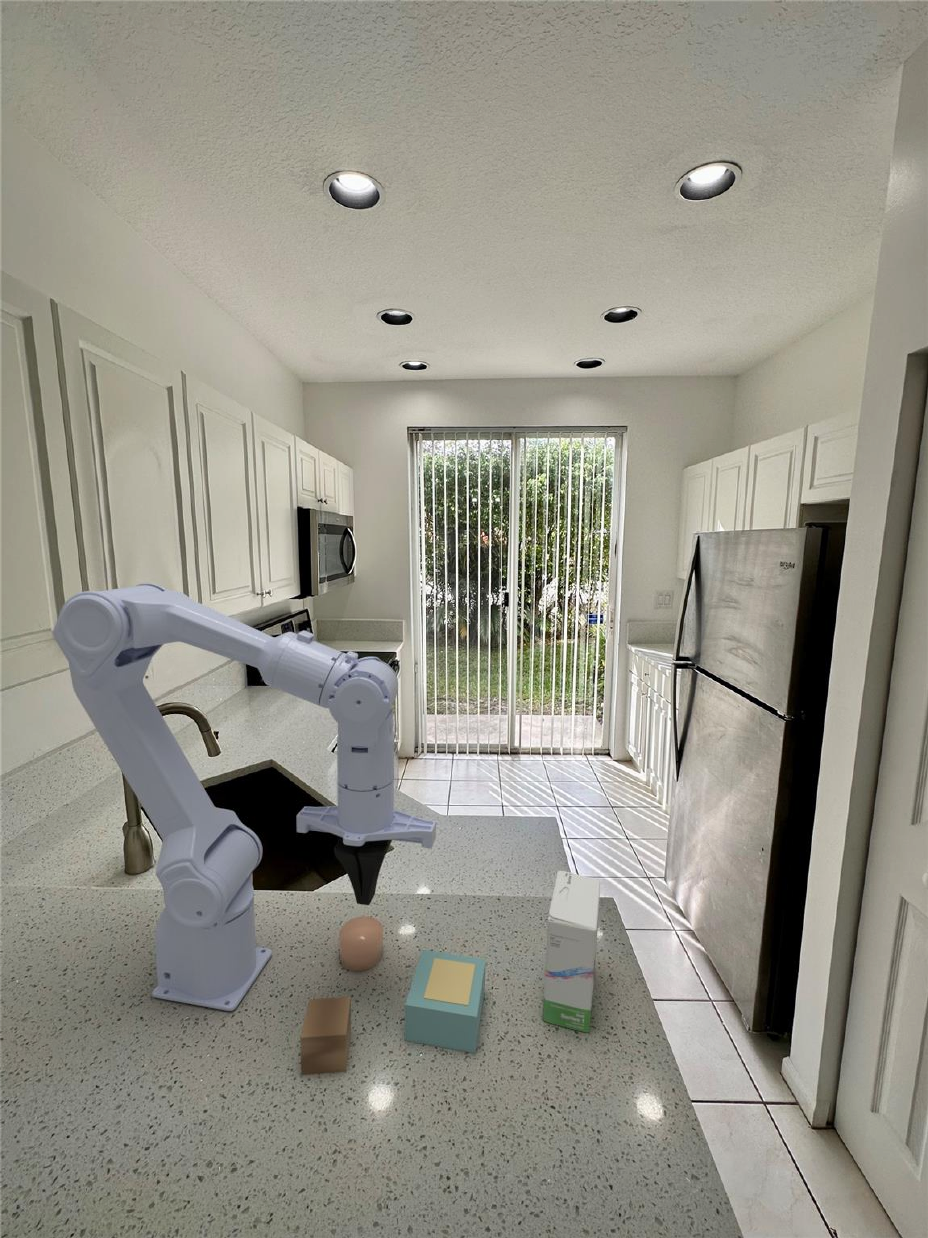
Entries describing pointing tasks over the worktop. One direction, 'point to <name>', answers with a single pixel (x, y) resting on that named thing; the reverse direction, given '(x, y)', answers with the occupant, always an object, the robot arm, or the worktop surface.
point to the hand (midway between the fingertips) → (366, 898)
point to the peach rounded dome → (361, 943)
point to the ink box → (571, 951)
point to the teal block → (446, 1001)
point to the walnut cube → (326, 1036)
